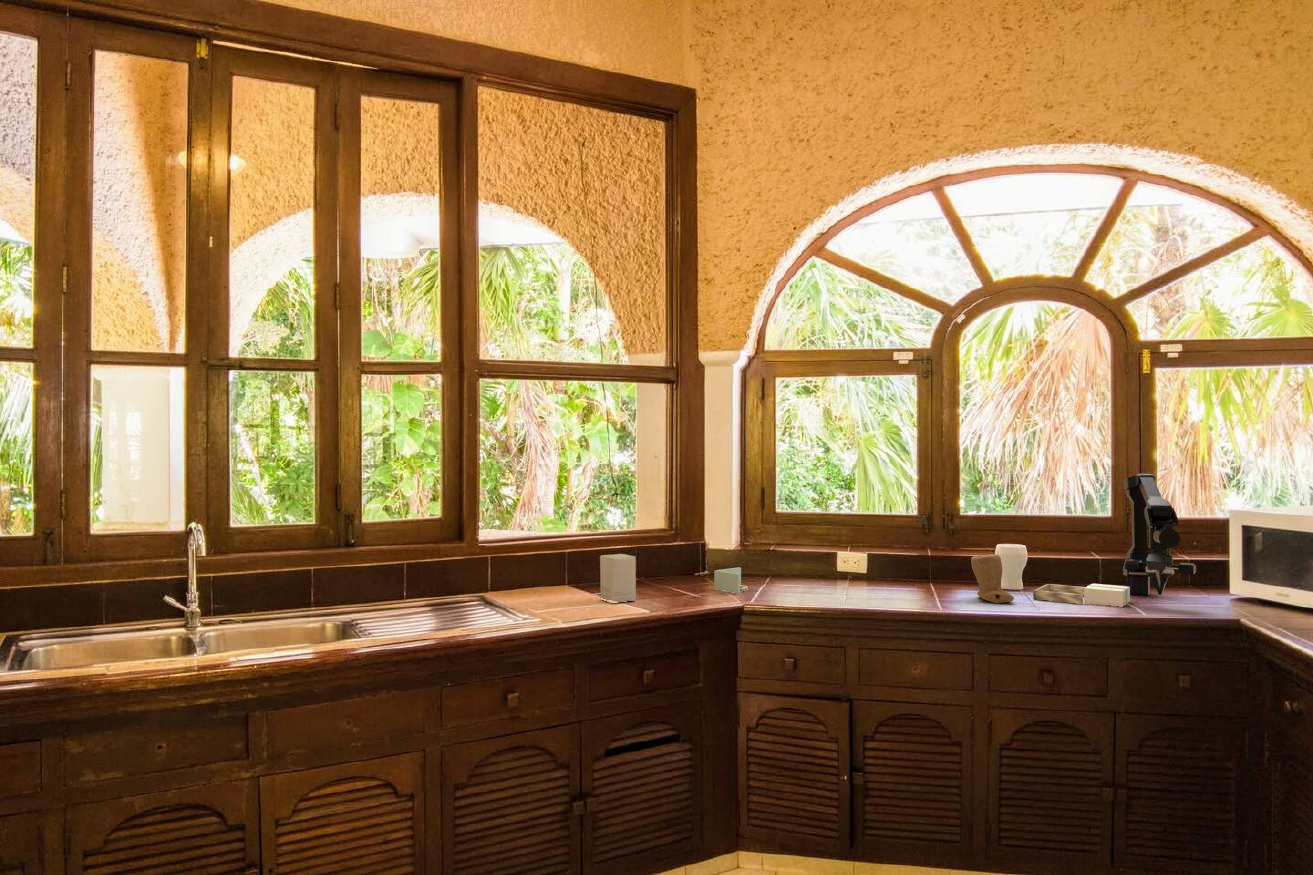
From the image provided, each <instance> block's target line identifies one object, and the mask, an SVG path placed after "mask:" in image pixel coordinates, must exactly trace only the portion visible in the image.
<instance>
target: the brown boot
mask: <svg viewBox="0 0 1313 875" xmlns="http://www.w3.org/2000/svg"><path fill="white" fill-rule="evenodd" d="M970 563H971V569H972V571H973V573H974V577H975V578H976V581H977V584H978V586H979V587H978V588H979V590H978V591H977V593H976V594H977V596H978V597H979V598H981V599H983V600H985V601H988V602H990V603H996V604H1003V603H1007V602H1012V601H1014V600H1015V597H1014V596H1013V595H1012V594H1011V593H1009V592H1008V591H1005V589H1003V588H1001V578H1002V571H1003V569H1002V562H1001V557H1000V556H999V555H998V554H996V555H995V553H994V554H993V553H991V554H985V555H975V556H972V557H971V559H970Z"/></svg>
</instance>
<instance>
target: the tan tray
mask: <svg viewBox="0 0 1313 875" xmlns="http://www.w3.org/2000/svg"><path fill="white" fill-rule="evenodd" d="M1084 588H1085V586H1075V585H1074V586H1073V585H1064V584H1063V585H1062V584H1051V583H1047V584H1044V585H1041V586H1040V587H1038V588H1035V589H1033V590H1032V591H1033V592H1032V593H1033V594H1032V596H1033V597H1032V599H1034V600H1033V601H1042V600H1050V601H1049V602H1052V601H1057V602H1056V603H1062V602H1067V603H1066V604H1072V603H1076V604H1075V605H1084Z"/></svg>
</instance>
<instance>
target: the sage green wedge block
mask: <svg viewBox="0 0 1313 875" xmlns="http://www.w3.org/2000/svg"><path fill="white" fill-rule="evenodd" d="M713 572H714V577H713V578H714V580H713V581H714V583H713V584H714V589H718V590H726V591H730V592H735V593H740V594H741V592H740V590H741V591H743V590H748V591H749V586H747V585H742V567H733V568H732V567H731V568H724V569H716V570H714V571H713Z"/></svg>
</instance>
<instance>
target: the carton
mask: <svg viewBox="0 0 1313 875" xmlns="http://www.w3.org/2000/svg"><path fill="white" fill-rule="evenodd" d="M1084 587H1085V586H1084ZM1130 595H1131V594H1130V587H1127V586H1126V585H1115V584H1113V585H1112V584H1101V583H1091V584H1088V585H1087V586H1086V587H1085V588H1084V596H1083V604H1086V603H1092V604H1091V605H1096V604H1102V605H1101V606H1106V605H1111V606H1110V607H1116V606H1119V607H1118V608H1123V606H1124V605H1125V606H1126V604H1127V603H1128V602H1129V603H1131V596H1130ZM1129 603H1128V604H1129ZM1128 604H1127V605H1128ZM1125 606H1124V607H1125Z"/></svg>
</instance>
